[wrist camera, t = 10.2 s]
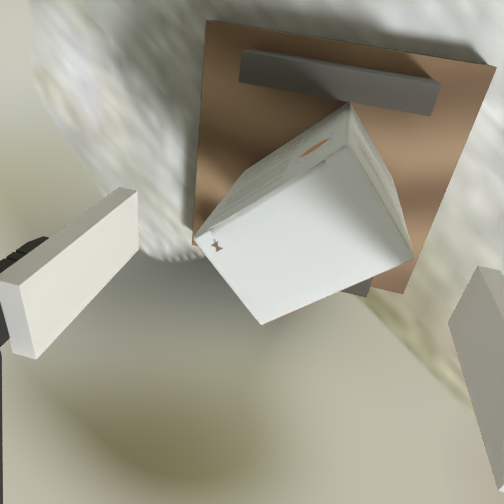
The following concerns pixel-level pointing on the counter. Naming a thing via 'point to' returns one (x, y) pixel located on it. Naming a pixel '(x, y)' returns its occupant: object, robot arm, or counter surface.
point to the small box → (308, 220)
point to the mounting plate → (326, 102)
